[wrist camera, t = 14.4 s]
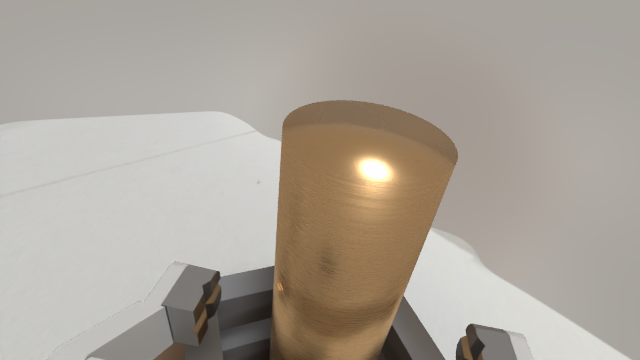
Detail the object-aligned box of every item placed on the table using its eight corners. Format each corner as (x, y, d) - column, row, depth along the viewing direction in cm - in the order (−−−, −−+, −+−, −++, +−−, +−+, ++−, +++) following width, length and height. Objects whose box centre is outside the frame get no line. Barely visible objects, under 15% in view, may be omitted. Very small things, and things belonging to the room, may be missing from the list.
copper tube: (276, 490, 16) (317, 194, 6) (258, 393, 20) (265, 102, 10) (359, 454, 18) (498, 171, 8) (328, 370, 21) (398, 98, 11)
